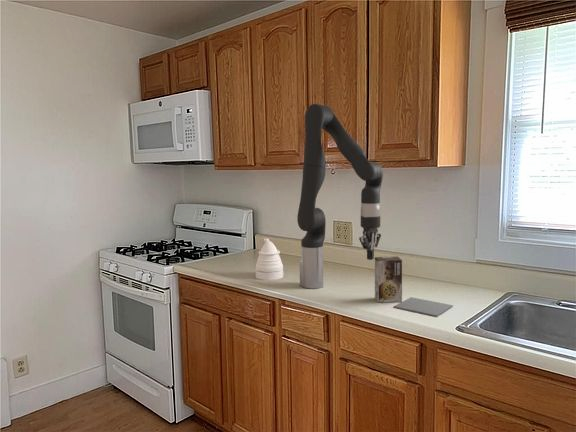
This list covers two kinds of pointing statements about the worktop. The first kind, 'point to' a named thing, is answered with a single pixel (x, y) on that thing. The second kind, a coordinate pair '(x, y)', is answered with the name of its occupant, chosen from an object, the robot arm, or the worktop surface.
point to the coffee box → (388, 279)
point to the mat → (423, 306)
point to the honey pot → (269, 262)
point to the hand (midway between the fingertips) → (370, 259)
